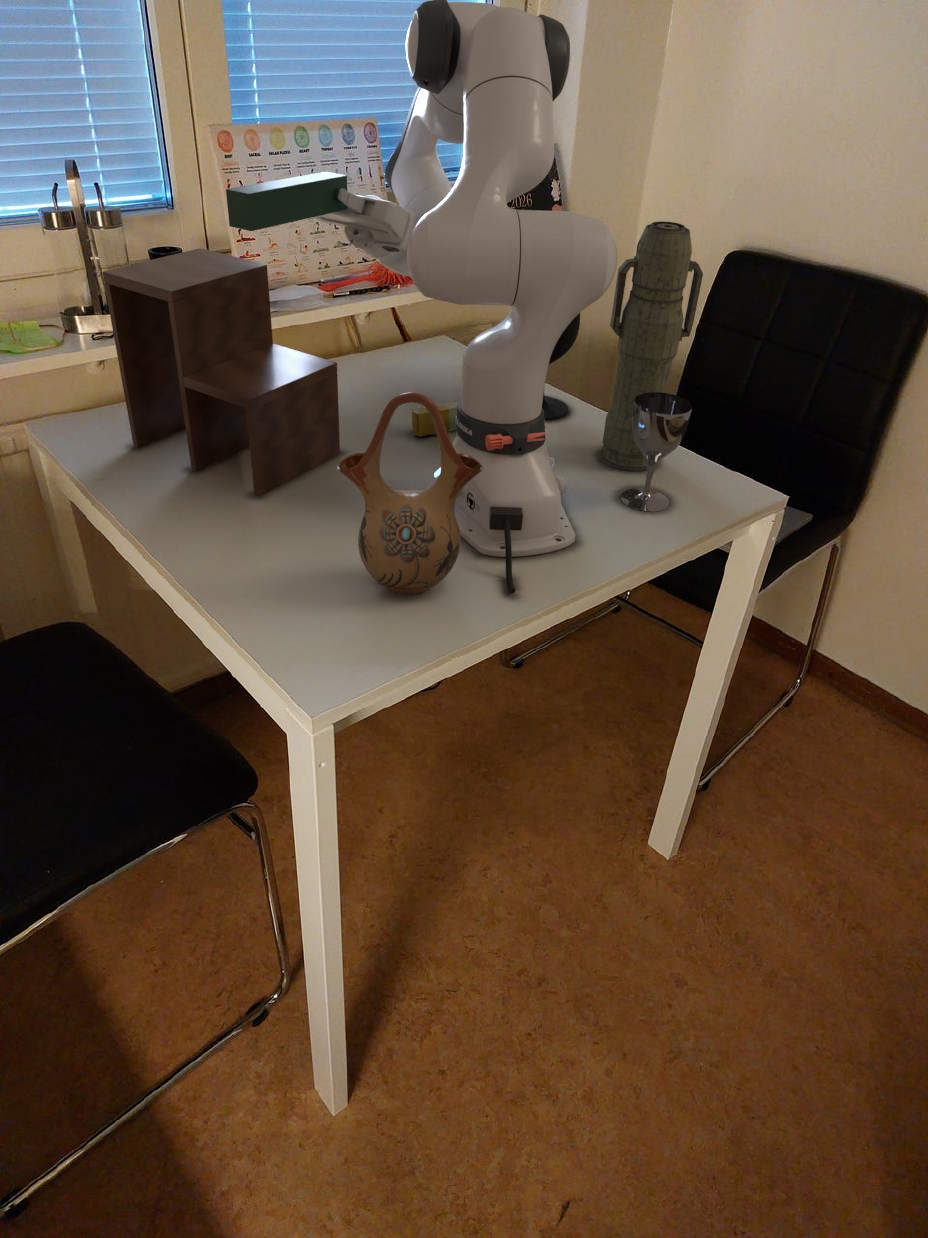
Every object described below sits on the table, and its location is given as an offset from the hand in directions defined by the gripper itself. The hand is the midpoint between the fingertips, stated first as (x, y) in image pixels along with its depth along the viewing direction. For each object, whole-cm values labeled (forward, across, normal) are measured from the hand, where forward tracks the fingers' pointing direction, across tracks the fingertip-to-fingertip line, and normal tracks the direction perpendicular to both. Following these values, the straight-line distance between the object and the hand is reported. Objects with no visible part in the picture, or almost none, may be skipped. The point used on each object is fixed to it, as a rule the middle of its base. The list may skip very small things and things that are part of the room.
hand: (323, 189), depth 141 cm
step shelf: (+8, +5, +43) cm, 44 cm away
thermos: (-23, +55, +25) cm, 64 cm away
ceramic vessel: (+21, +48, +50) cm, 73 cm away
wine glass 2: (-14, +62, +30) cm, 71 cm away
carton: (+5, 0, +6) cm, 8 cm away
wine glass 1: (-31, +34, +20) cm, 50 cm away
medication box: (-15, +26, +29) cm, 42 cm away
